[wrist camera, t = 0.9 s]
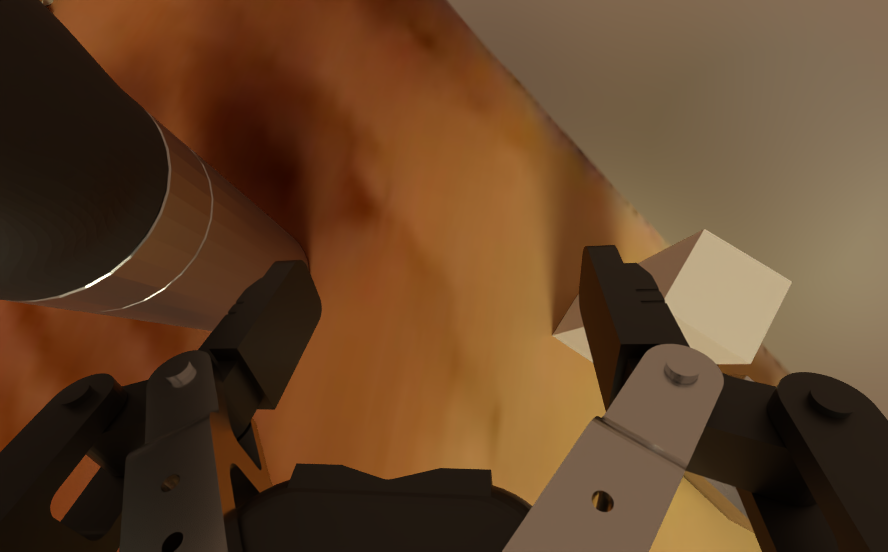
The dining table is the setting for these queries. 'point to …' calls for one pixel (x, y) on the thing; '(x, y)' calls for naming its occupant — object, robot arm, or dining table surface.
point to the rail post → (705, 299)
